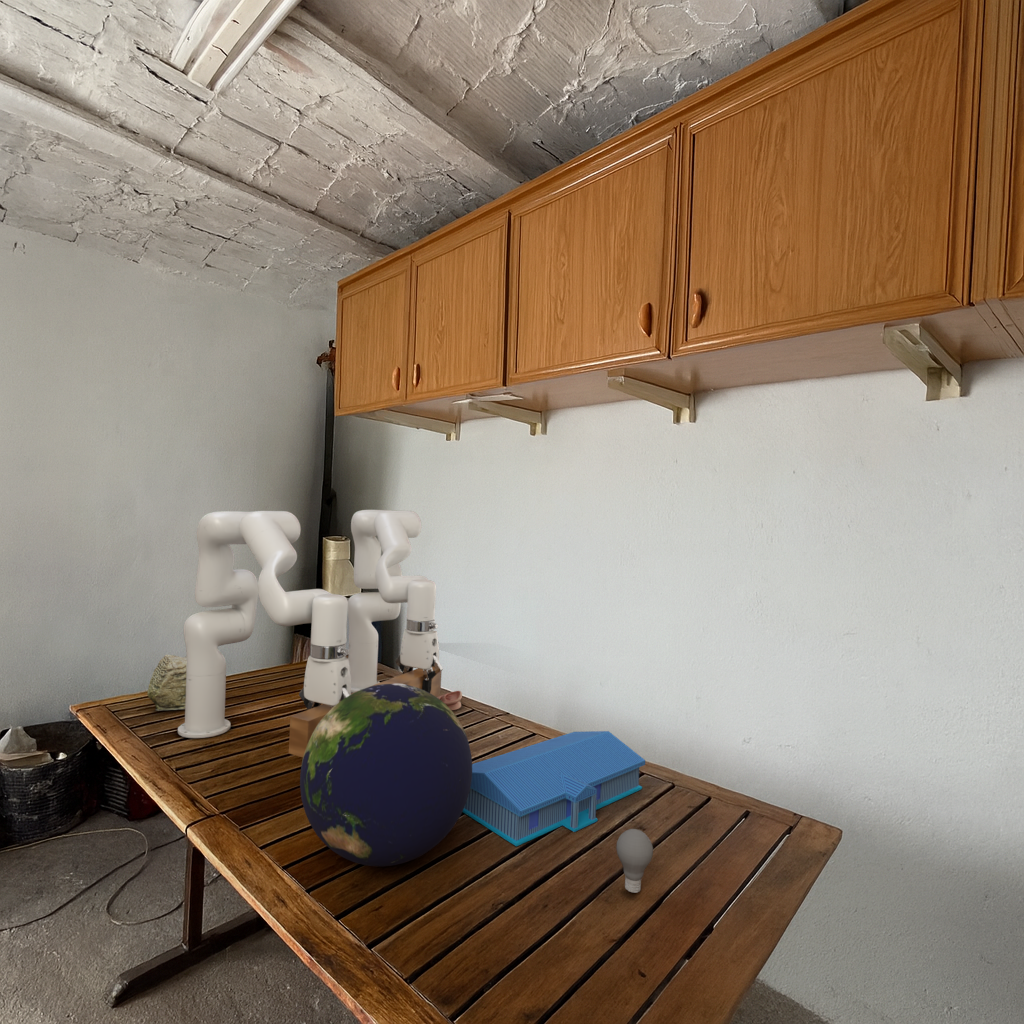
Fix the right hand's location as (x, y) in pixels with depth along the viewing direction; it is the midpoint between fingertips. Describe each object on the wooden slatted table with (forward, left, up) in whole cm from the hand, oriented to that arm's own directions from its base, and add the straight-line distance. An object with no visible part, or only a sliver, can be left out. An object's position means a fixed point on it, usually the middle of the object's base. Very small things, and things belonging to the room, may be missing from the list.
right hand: (417, 691), depth 172 cm
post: (+14, -11, -3) cm, 18 cm away
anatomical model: (-21, +8, -11) cm, 25 cm away
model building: (+41, +29, -11) cm, 51 cm away
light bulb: (+74, +34, -11) cm, 82 cm away
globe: (+59, -7, -11) cm, 60 cm away
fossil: (-25, -66, -11) cm, 72 cm away
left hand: (+29, -21, 0) cm, 36 cm away
